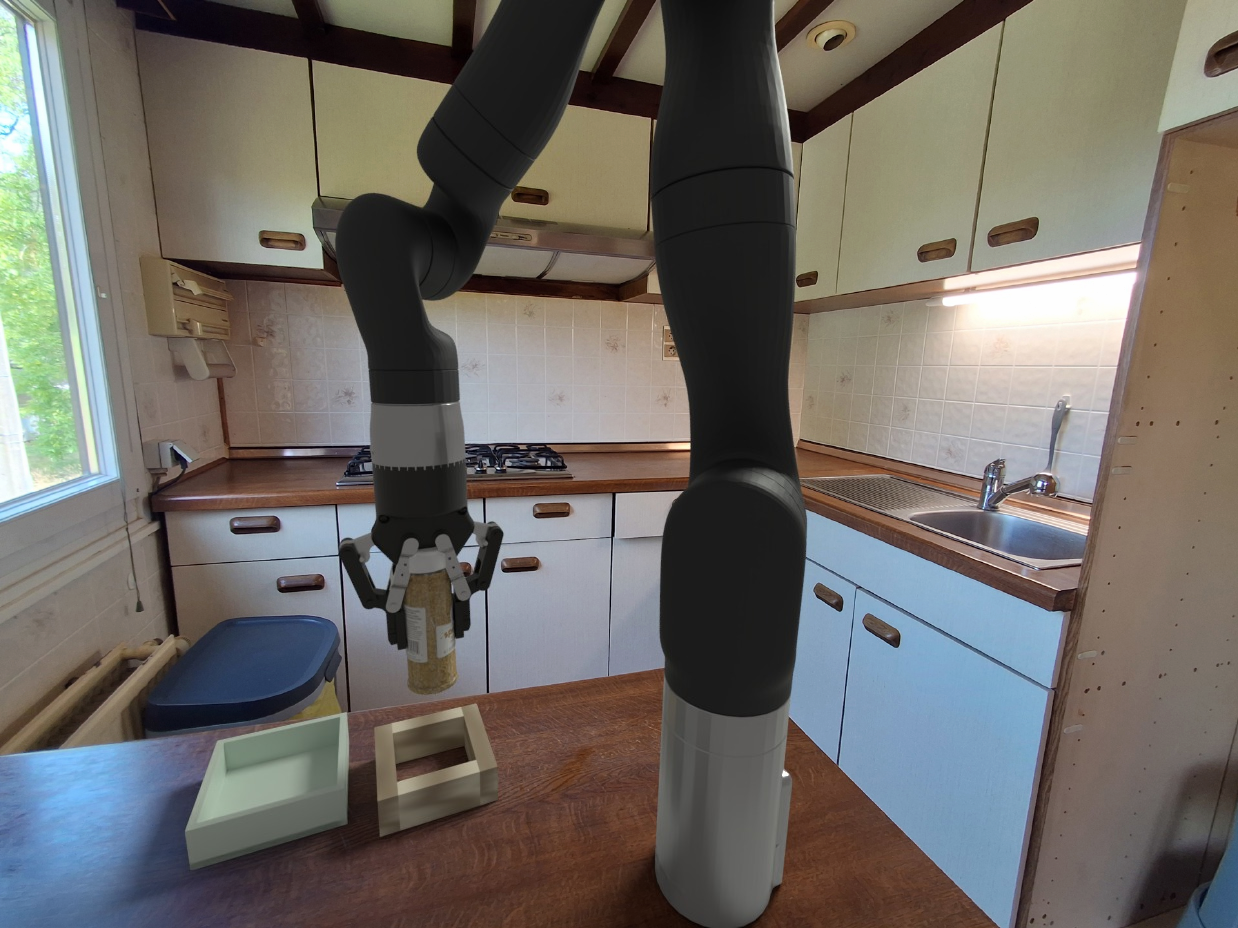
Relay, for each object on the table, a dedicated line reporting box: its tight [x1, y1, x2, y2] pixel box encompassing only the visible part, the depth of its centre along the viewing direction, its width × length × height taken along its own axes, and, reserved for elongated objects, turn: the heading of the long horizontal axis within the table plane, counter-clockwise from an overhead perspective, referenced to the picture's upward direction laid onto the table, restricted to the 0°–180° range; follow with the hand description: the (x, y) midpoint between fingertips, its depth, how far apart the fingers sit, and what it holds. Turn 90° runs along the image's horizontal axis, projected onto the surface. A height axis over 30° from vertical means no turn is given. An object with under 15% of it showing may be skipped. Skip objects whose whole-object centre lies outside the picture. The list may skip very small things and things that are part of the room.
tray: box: [184, 711, 350, 872], centre depth 50 cm, size 11×11×4 cm
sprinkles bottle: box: [402, 547, 459, 696], centre depth 49 cm, size 5×5×14 cm
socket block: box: [373, 703, 499, 838], centre depth 52 cm, size 10×10×4 cm
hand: (430, 639), depth 50 cm, fingers closed on sprinkles bottle, 4 cm apart
